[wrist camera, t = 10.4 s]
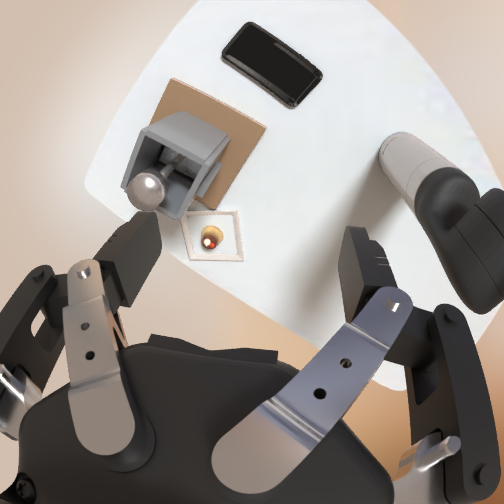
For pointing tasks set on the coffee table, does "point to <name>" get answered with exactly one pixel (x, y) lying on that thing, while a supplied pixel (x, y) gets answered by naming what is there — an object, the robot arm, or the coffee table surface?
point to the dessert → (213, 237)
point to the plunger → (159, 180)
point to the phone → (272, 63)
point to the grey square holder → (194, 146)
